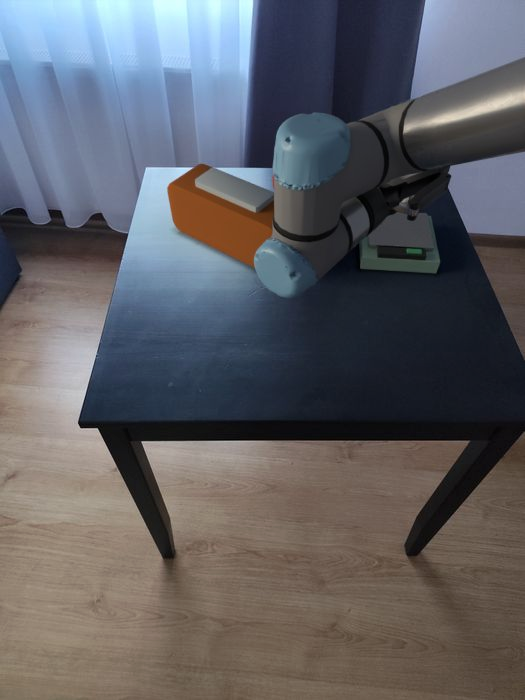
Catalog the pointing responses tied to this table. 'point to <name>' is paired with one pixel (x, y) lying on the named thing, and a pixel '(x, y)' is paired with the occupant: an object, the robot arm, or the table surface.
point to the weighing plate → (402, 233)
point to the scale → (400, 257)
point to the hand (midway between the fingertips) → (430, 147)
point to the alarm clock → (222, 211)
